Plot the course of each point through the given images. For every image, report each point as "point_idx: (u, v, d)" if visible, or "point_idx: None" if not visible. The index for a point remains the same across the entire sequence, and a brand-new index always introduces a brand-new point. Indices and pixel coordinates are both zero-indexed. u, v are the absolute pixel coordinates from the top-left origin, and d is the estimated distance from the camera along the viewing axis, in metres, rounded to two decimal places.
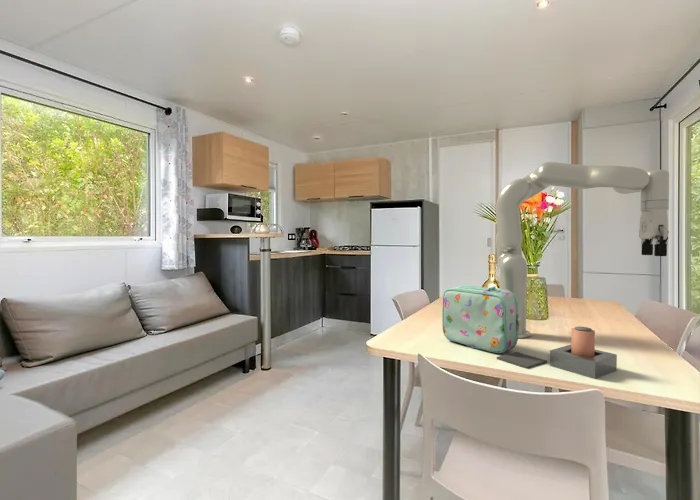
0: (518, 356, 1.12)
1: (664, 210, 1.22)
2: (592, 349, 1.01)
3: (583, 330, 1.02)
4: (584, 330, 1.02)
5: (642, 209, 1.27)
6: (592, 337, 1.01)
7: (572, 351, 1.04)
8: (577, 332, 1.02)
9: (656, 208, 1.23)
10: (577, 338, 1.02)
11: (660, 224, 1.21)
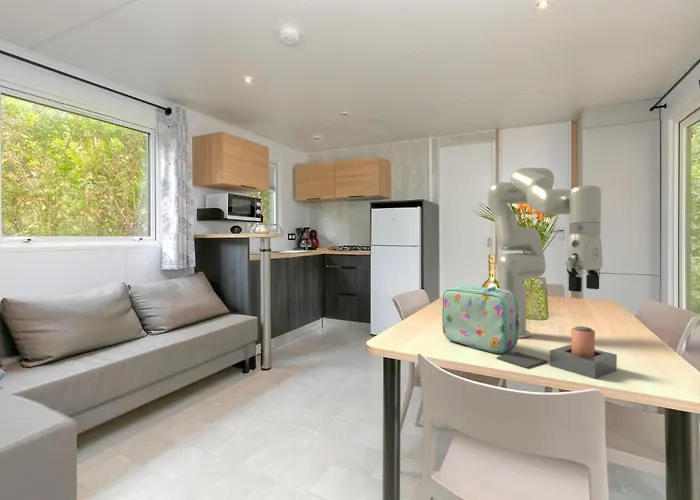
0: (518, 356, 1.12)
1: None
2: (592, 349, 1.01)
3: (583, 330, 1.02)
4: (584, 330, 1.02)
5: (600, 233, 1.00)
6: (592, 337, 1.01)
7: (572, 351, 1.04)
8: (577, 332, 1.02)
9: None
10: (577, 338, 1.02)
11: None
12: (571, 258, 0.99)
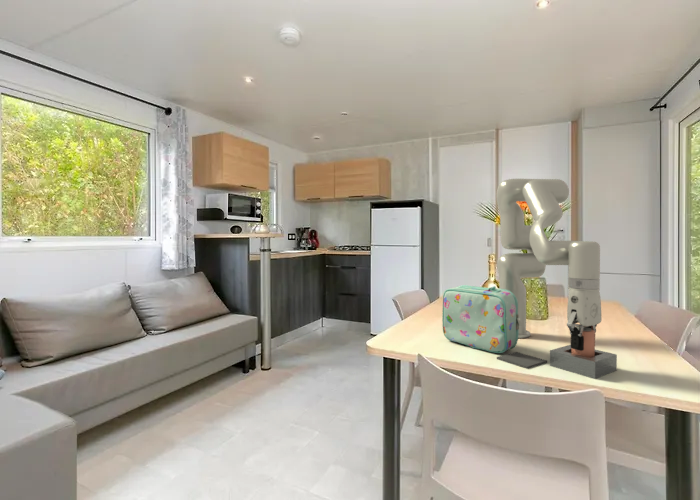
0: (518, 356, 1.12)
1: None
2: (592, 349, 1.01)
3: (583, 330, 1.02)
4: (584, 330, 1.02)
5: (599, 289, 1.00)
6: (592, 337, 1.01)
7: (572, 351, 1.04)
8: None
9: None
10: None
11: None
12: (571, 318, 1.00)
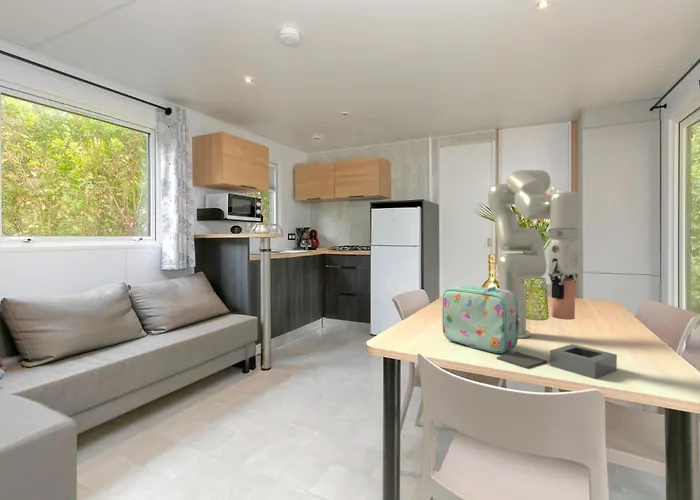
0: (518, 356, 1.12)
1: None
2: (572, 297, 1.03)
3: (564, 279, 1.03)
4: (565, 279, 1.03)
5: (579, 238, 1.02)
6: (572, 286, 1.03)
7: (553, 301, 1.06)
8: None
9: None
10: None
11: None
12: (552, 267, 1.02)
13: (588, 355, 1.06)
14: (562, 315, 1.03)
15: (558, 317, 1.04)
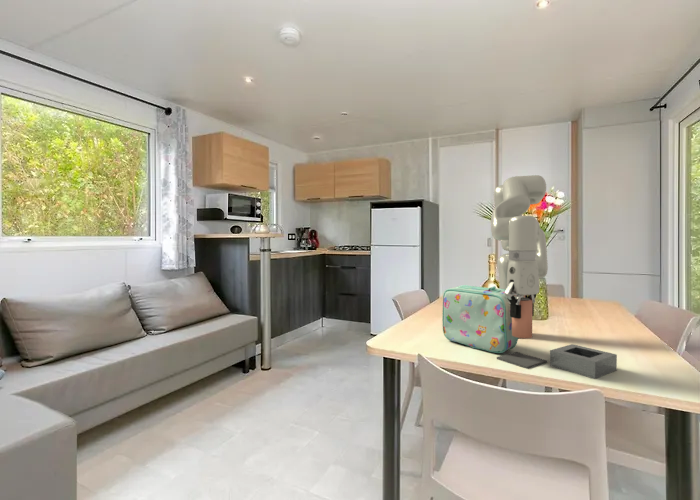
0: (518, 356, 1.12)
1: None
2: (529, 317, 1.07)
3: (521, 299, 1.08)
4: (522, 299, 1.08)
5: (535, 260, 1.07)
6: (529, 306, 1.07)
7: (512, 320, 1.10)
8: None
9: None
10: None
11: None
12: (509, 288, 1.06)
13: (588, 355, 1.06)
14: (519, 333, 1.07)
15: (516, 336, 1.08)
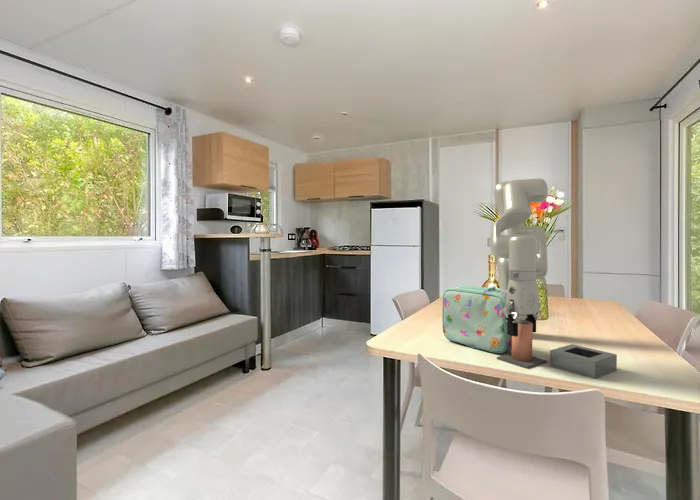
0: None
1: None
2: (529, 340, 1.07)
3: (521, 323, 1.08)
4: (522, 323, 1.08)
5: (535, 280, 1.07)
6: (529, 329, 1.07)
7: (512, 342, 1.11)
8: None
9: None
10: None
11: None
12: (507, 305, 1.06)
13: (588, 355, 1.06)
14: (519, 356, 1.08)
15: (515, 358, 1.09)
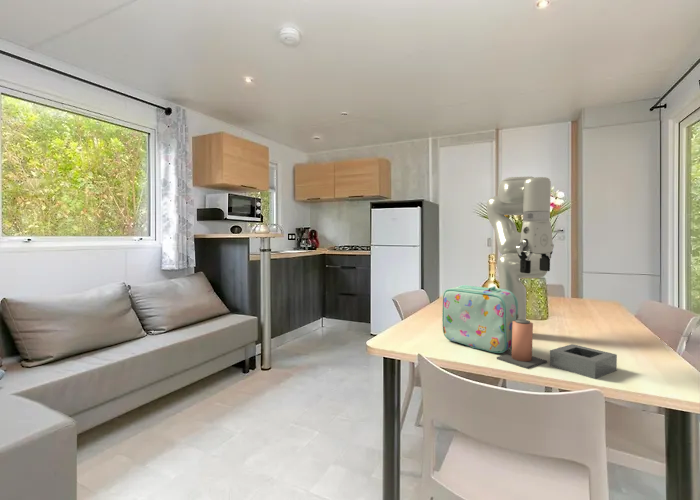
0: None
1: None
2: (529, 340, 1.07)
3: (521, 323, 1.08)
4: (522, 323, 1.08)
5: (548, 220, 1.11)
6: (529, 329, 1.07)
7: (512, 342, 1.11)
8: (516, 324, 1.09)
9: None
10: (516, 330, 1.09)
11: None
12: (521, 243, 1.11)
13: (588, 355, 1.06)
14: (519, 356, 1.08)
15: (515, 358, 1.09)
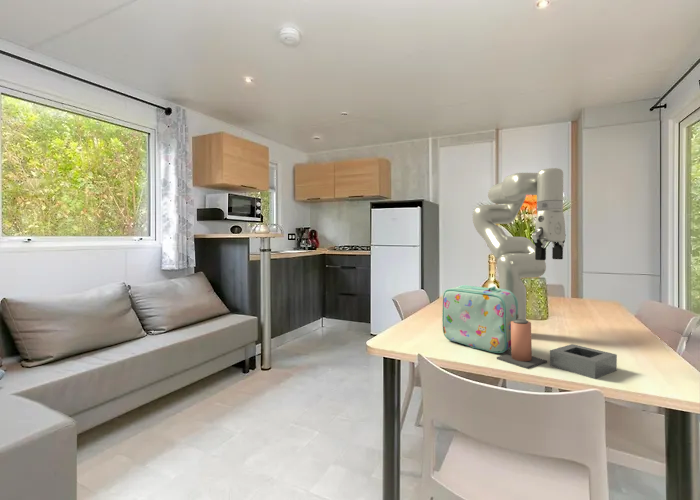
0: None
1: None
2: (527, 340, 1.07)
3: (519, 323, 1.08)
4: (520, 323, 1.08)
5: (562, 209, 1.15)
6: (527, 329, 1.07)
7: (511, 342, 1.11)
8: (514, 325, 1.09)
9: None
10: (514, 330, 1.09)
11: None
12: (537, 231, 1.15)
13: (588, 355, 1.06)
14: (518, 356, 1.08)
15: (515, 358, 1.09)
